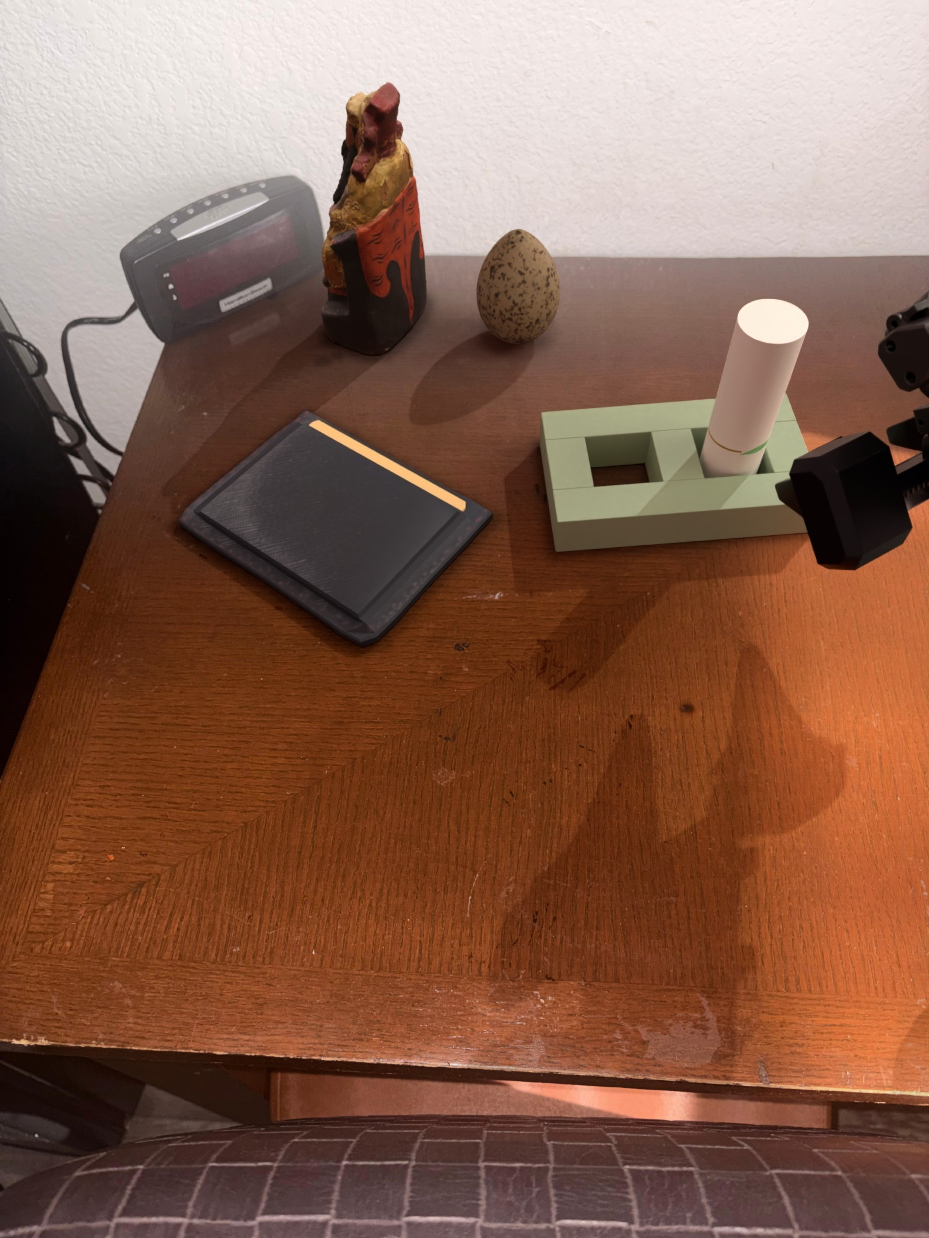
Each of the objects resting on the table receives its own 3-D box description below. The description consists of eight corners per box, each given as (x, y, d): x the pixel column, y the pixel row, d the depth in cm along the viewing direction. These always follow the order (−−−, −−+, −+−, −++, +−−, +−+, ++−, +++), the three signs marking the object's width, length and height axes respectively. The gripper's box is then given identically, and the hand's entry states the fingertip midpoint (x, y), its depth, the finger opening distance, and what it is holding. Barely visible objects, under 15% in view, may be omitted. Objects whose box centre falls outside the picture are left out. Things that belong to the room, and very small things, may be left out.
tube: (694, 502, 64) (738, 341, 52) (694, 460, 67) (736, 297, 54) (752, 506, 64) (811, 345, 51) (750, 465, 66) (806, 300, 53)
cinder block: (539, 444, 68) (540, 411, 65) (774, 425, 68) (786, 392, 65) (555, 552, 62) (557, 522, 59) (813, 532, 62) (827, 501, 59)
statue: (374, 275, 81) (337, 45, 65) (444, 299, 79) (425, 66, 62) (299, 351, 76) (238, 120, 59) (372, 379, 74) (330, 147, 57)
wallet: (166, 507, 64) (307, 394, 70) (175, 522, 66) (312, 411, 72) (357, 644, 57) (497, 505, 63) (362, 658, 58) (498, 521, 64)
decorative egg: (472, 359, 74) (467, 257, 66) (484, 307, 78) (480, 204, 70) (553, 364, 73) (558, 261, 65) (561, 311, 77) (567, 207, 69)
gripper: (1186, 193, 39) (909, 287, 54) (887, 331, 34) (673, 393, 49) (1231, 422, 41) (954, 452, 56) (957, 581, 37) (733, 568, 51)
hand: (835, 462), depth 53 cm, fingers open, 9 cm apart
